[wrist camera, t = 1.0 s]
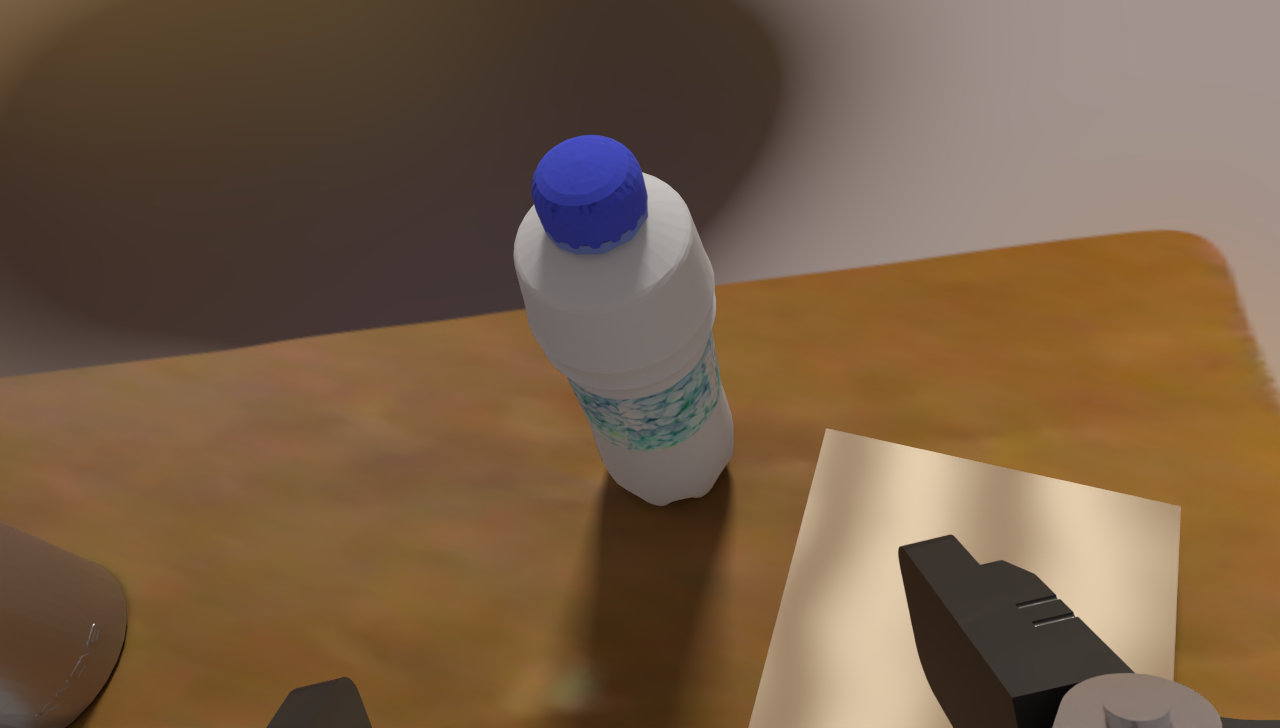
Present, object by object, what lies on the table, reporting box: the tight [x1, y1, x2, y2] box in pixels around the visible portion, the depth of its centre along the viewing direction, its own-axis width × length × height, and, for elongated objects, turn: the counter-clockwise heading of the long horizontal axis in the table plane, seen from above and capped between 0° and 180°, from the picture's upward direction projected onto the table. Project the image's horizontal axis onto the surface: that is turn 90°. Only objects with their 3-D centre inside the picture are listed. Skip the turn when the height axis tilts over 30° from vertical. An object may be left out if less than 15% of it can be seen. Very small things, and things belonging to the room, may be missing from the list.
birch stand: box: [749, 428, 1181, 728], centre depth 33 cm, size 14×14×2 cm
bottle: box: [514, 135, 734, 506], centre depth 33 cm, size 7×7×20 cm
